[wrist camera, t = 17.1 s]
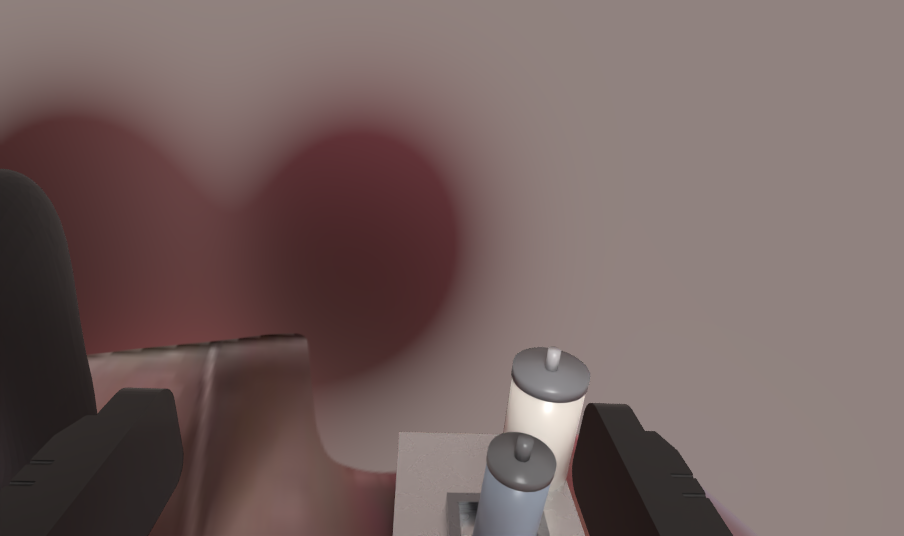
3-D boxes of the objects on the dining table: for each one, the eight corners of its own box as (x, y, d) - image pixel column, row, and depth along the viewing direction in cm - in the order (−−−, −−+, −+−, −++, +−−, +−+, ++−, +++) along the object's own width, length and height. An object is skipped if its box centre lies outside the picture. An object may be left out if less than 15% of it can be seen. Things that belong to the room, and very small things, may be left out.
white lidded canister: (503, 493, 47) (523, 371, 42) (493, 439, 54) (509, 328, 49) (576, 494, 48) (605, 374, 43) (558, 441, 55) (580, 331, 49)
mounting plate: (385, 648, 35) (386, 626, 34) (398, 438, 54) (399, 420, 53) (616, 645, 36) (624, 624, 35) (549, 442, 56) (552, 424, 55)
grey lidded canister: (468, 581, 39) (492, 462, 34) (468, 524, 44) (489, 412, 39) (533, 588, 39) (567, 470, 34) (526, 530, 44) (554, 420, 39)
